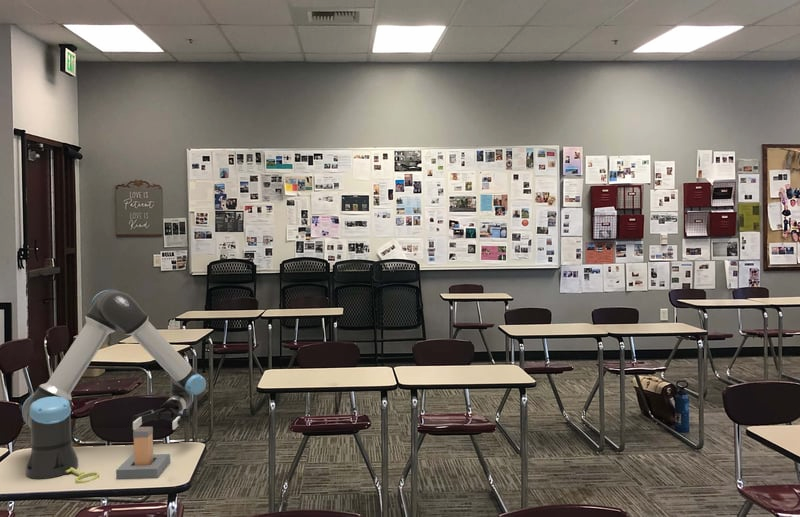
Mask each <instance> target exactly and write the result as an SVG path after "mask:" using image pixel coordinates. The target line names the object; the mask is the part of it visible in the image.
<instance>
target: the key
mask: <svg viewBox="0 0 800 517" xmlns="http://www.w3.org/2000/svg"><path fill="white" fill-rule="evenodd" d="M65 472H66V473H67V474H68V472H69V473H73V474H75V475H77V477H76V478H75V483H76V484H85V483H89V482H92V481H95V480H96V479H98V478H99V477H100V473H99V472H97V471H92V472H87V473H85V472H84V471H79V470H78V469H77V468H76V469H74V468H73V467H71V468H70V469H69V470H66V471H65ZM92 476H94V477H92ZM88 477H91V478H89V479H85V478H88ZM82 479H84V480H82Z"/></svg>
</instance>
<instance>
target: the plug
mask: <svg viewBox="0 0 800 517" xmlns="http://www.w3.org/2000/svg"><path fill="white" fill-rule="evenodd" d="M153 433H154V428H153V426H139V427H138V428H137V429H136V430H133V431H132V435H133V436H132V439H133V451H134V452H133V455H134V462H135V466H140V465H151V464H152V463H153V454H154V440H153V439H154V438H153V436H154V435H153Z"/></svg>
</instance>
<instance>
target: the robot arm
mask: <svg viewBox="0 0 800 517" xmlns="http://www.w3.org/2000/svg"><path fill="white" fill-rule="evenodd" d="M84 318H85V321H86V322H85V325H84V326H83V327H82V329H81V330H80V332H79V334H78V335H77V336H76V338H75V340H74V341H73V342H72V344H71V345H70V347H69V349H68V350H67V352H66V353H65V355H64V356H63V358H62V359H61V360H60V363H59V364H58V365H57V367H56V368H55V370H54V371H53V372H52V374H51V376H50V378H49V379H48V380H47V382H46V383H42V384H39V386H38V388H36V390H35V392H34V393H33V394H31V395H30V396H29V397H27V399H25V401H24V402H23V405H22V407H21V415H22V416H21V417H22V418H23V421H24V423H25V424H26V425H27V426H28V427H29V429H30V441H31V442H30V443H31V451H30V454H29V458H28V462H27V464H26V469H25V470H26V471H25V473H26V477H27V478H30V479H41V480H42V479H51V478H56V477H61V476H63V475H67V474H68V473H70V472H68V473H66V472H65V471H66V470H69V469H70V468H71V467H73V468H74V469H76V470H77V468H78V467H79V458H78V455H77V454H76V452H75V449H74V447H73V444H72V419H71V418H72V417H71V416H72V415H71V411H72V409H71V408H72V407H71V404H70V403H71V402H72V399H73V398H72V394H71V393H72V392H73V390H74V389H75V387H76V386H77V384H78V382H79V381H80V379H81V378H82V376H83V374H84V373H85V371H86V370H87V368H88V367H89V365H90V363H91V362H92V360H93V359H94V357H95V356H96V354H97V353H98V351H99V350H100V348H101V347H102V346H103V343H104V342H105V341H106V339H107V337H108V335H109V334H112V333H115V332H117V330H118V329H119V330H121V331H122V332H123V333H124V334H125V335H126V336H131V337H132V338H133V339H134V340H135V341H136V342H137V343H139V345H140V346H141V347H142V348H143V349H144V350H145V351H146V352H147V353H148V354H149V355H150V356H151V357H152V358H153V359H154V361H156V362H157V363H158V365H160V367H161V368H163V370H164V371H166V372H167V373H168V374H169V376H170V380H169V381H170V398H168V399H167V400H166V401H165V402H164V403H163V404H162V405H161V406H160V407H159V409H157V410H154V409H153V408H152V409H151V408H150V409H149V410H147V411H144V412H141V413H138V414H136V415H133V416H132V430H133V431H135V430H136V429H137V428H138V427H142V426H141V425H143V424H144V423H147V422H151V421H160V420H165V421H169V422H171V423H172V424H171V425H172V430H173V431H174V430H176V429H177V428H178V427H179V426H180V425H182V424H184V423H187V424H188V423H190V422H191V420H190V419H191V418H190V414H189V413H188V408H190V407H191V405H192V404H193V402H194V396H197V395H200V394H202V392H204V391H205V389H206V387H207V381H206V378H205V377H203V376H202V374H199V373H198V372H197V371H196V370H195V369H194V368H193V367H192V366H191V363H190V362H188V361H186V360H185V358H184V357H183V356H182V355H181V354H180V353H179V351H177V350H176V349H175V348H174V347H173V345H172V344H170V342H169V341H168V340H167V339H166V338H165V336H163V335H162V334H161V333H160V332H159V331H158V330H157V328H156V327H155V326H154V325H153V324H152V323H151V322H150V321H149V316H148V315H147V313H146V312H145V311H144V310H143V309H142V308H141V307H140V305H139V304H138V303H137V302H136V300H135V299H134V298H133V297H132V296H131V295H129V294H128V293H125V292H122V291H119V290H118V289H117V290H116V289H106V290H102V291H100V292H99V293H97V294H96V295H94V297H93V298H92V301H91V303H90V308H89V310H88V311H87V313H86V315H85V317H84Z"/></svg>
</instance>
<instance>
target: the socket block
mask: <svg viewBox="0 0 800 517" xmlns="http://www.w3.org/2000/svg"><path fill="white" fill-rule="evenodd" d="M168 464H169V465H170V464H171V454H170V453H160V454H159V453H153V463H152V464H151V465H140V466H135V462H134V454H131V455H129V457H127V459H126V460H125V461H124V462H123V463H122V464H120V466H118V468H117V469H116V470H115V473H116V474H115V475H116V476H115V478H116V480H129V479H130V480H131V479H135V480H136V479H159V477H160V476H161V474H162V473H164V471H165V470H166V468H167V467H168V466H169V465H168ZM167 465H168V466H167Z"/></svg>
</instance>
